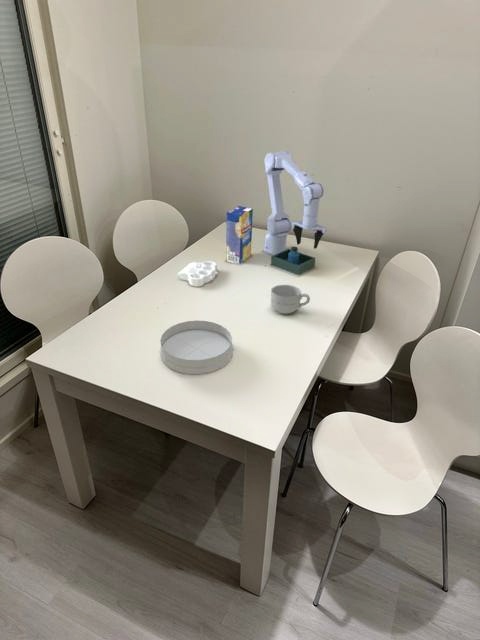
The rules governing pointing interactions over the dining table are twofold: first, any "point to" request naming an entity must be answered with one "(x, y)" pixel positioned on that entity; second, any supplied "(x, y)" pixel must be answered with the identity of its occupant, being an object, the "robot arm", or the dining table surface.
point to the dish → (196, 347)
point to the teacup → (287, 298)
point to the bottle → (293, 255)
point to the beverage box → (239, 234)
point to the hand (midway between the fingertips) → (307, 245)
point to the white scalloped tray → (199, 273)
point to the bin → (303, 264)
